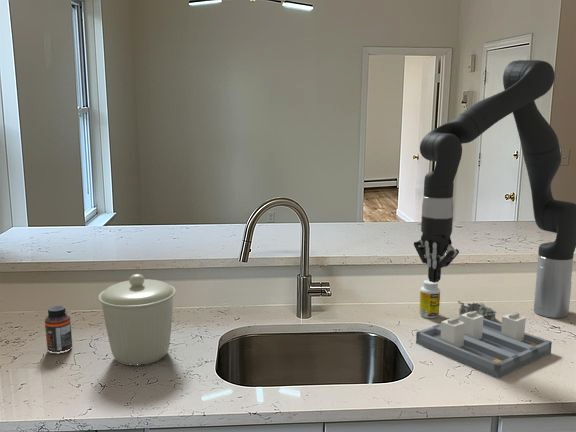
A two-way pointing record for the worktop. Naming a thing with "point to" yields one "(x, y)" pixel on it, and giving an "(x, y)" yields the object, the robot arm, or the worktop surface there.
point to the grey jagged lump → (478, 310)
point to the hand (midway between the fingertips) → (433, 281)
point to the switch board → (488, 349)
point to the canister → (138, 319)
